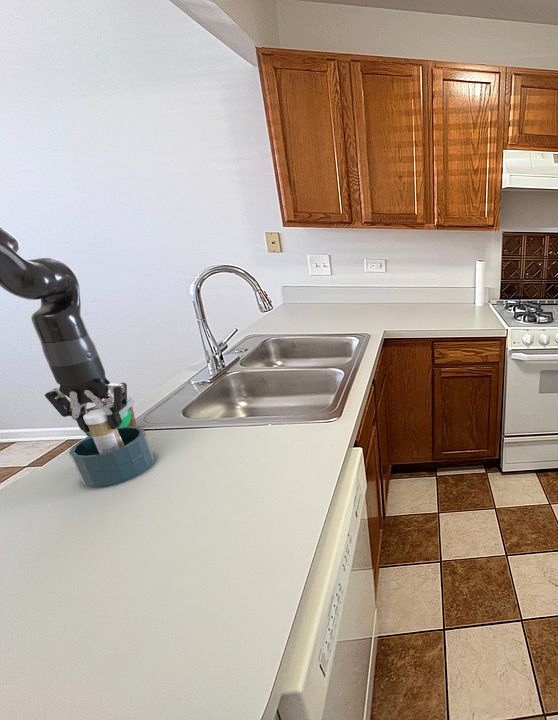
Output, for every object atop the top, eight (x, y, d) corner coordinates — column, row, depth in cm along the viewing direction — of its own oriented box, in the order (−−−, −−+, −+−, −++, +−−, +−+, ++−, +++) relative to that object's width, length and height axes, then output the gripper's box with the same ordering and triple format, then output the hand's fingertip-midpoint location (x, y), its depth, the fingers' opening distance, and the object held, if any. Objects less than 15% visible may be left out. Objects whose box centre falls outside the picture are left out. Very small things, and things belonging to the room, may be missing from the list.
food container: (81, 454, 98) (65, 419, 94) (83, 443, 103) (68, 409, 99) (144, 436, 105) (132, 403, 102) (144, 427, 110) (132, 395, 106)
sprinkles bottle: (134, 456, 94) (114, 406, 89) (123, 467, 90) (102, 416, 85) (111, 458, 93) (90, 408, 88) (99, 470, 89) (77, 418, 84)
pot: (68, 492, 85) (53, 461, 82) (105, 457, 97) (93, 429, 94) (136, 483, 88) (124, 453, 85) (164, 451, 99) (154, 423, 96)
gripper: (124, 349, 87) (148, 417, 93) (46, 354, 84) (76, 424, 90) (102, 361, 80) (130, 433, 86) (16, 367, 77) (52, 442, 83)
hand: (102, 428), depth 88 cm, fingers closed on sprinkles bottle, 4 cm apart
